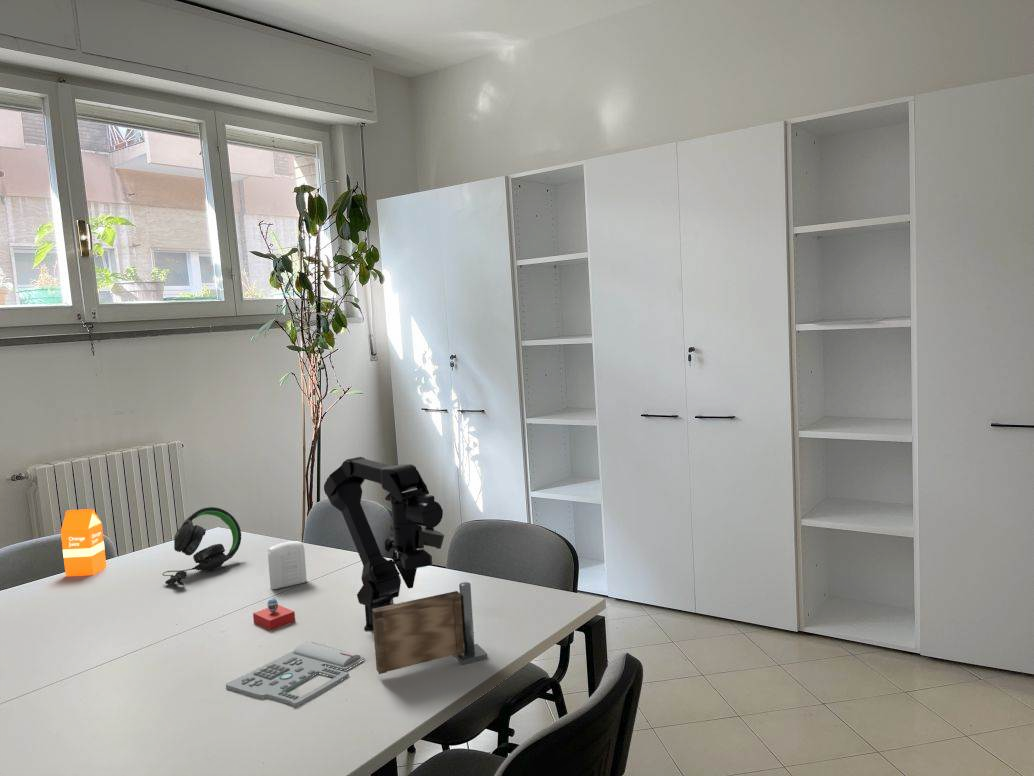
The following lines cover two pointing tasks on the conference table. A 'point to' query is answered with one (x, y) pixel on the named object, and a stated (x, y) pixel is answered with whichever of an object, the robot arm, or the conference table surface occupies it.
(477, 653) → the gate post
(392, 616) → the gate
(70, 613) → the conference table surface
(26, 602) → the conference table surface
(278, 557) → the white tombstone
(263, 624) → the joystick
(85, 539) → the orange juice
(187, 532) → the headset
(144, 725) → the conference table surface
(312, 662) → the office telephone
